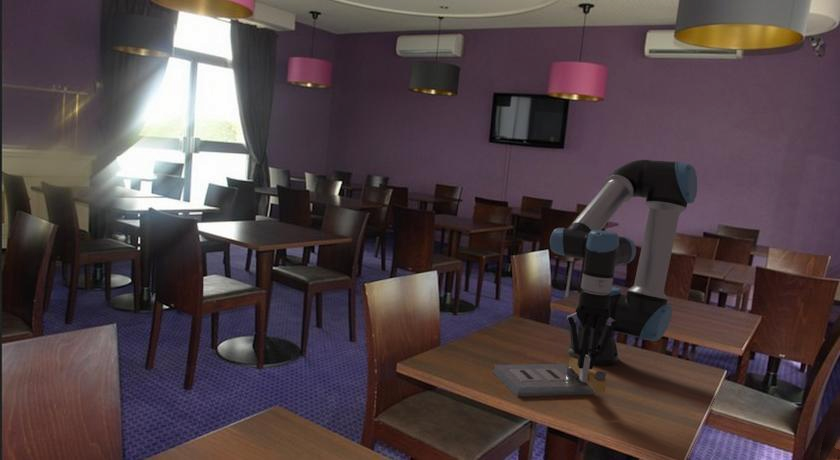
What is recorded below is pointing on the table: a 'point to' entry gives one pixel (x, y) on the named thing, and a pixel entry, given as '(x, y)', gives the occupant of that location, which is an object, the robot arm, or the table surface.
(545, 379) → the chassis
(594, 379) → the yellow wooden bar
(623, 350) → the table surface
